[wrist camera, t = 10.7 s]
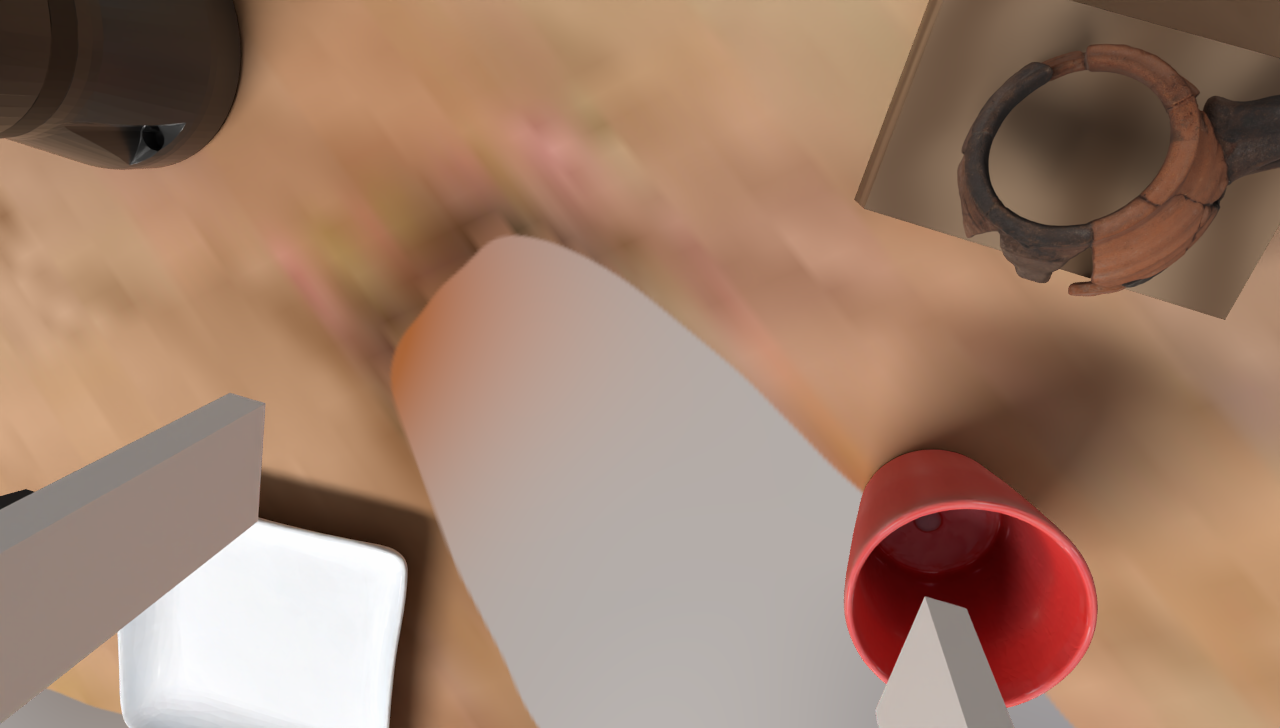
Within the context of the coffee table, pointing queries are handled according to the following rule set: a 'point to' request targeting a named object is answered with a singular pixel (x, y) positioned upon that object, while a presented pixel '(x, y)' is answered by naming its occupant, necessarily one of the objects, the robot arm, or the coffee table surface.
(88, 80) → the robot arm
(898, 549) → the flower pot
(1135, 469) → the coffee table surface
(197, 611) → the salad plate
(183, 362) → the coffee table surface
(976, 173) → the pottery mug
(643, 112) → the coffee table surface
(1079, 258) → the walnut block
